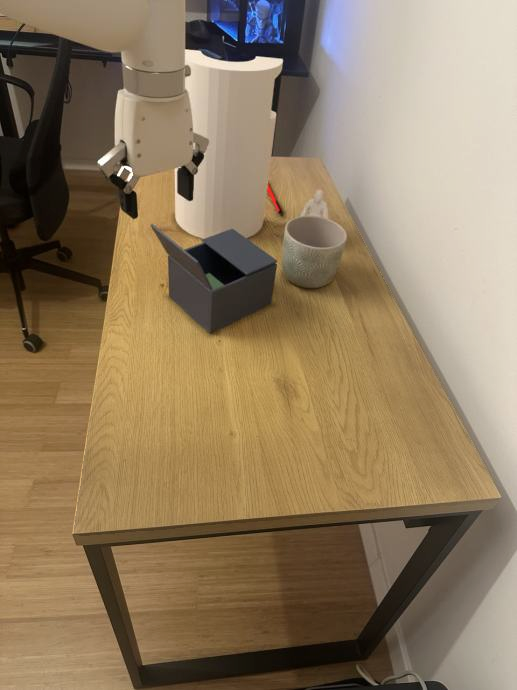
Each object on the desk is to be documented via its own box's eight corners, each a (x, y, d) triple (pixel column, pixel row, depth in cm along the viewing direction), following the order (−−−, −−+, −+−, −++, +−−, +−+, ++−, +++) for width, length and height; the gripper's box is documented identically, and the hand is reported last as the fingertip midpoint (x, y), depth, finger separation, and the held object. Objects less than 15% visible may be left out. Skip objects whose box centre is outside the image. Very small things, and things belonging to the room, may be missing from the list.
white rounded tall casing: (175, 212, 119) (262, 218, 122) (172, 238, 111) (266, 243, 113) (173, 47, 95) (282, 57, 97) (169, 64, 87) (288, 75, 89)
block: (203, 317, 92) (204, 295, 89) (187, 302, 95) (187, 281, 91) (224, 307, 95) (226, 286, 92) (208, 293, 98) (209, 272, 94)
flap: (212, 288, 83) (211, 290, 83) (168, 251, 89) (166, 253, 89) (198, 261, 77) (196, 262, 77) (151, 223, 83) (150, 225, 83)
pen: (279, 216, 123) (280, 212, 122) (262, 180, 136) (262, 176, 136) (283, 216, 123) (283, 212, 123) (265, 180, 136) (265, 176, 136)
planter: (343, 293, 103) (355, 248, 95) (284, 295, 100) (293, 249, 93) (326, 258, 112) (337, 215, 104) (272, 259, 109) (279, 214, 102)
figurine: (326, 237, 118) (337, 190, 110) (323, 255, 112) (334, 207, 104) (295, 231, 119) (303, 184, 110) (290, 249, 113) (299, 200, 105)
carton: (210, 334, 90) (212, 289, 83) (168, 296, 96) (167, 251, 89) (271, 304, 98) (277, 260, 91) (229, 271, 104) (232, 228, 97)
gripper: (191, 63, 68) (190, 181, 80) (74, 79, 59) (91, 210, 71) (227, 80, 65) (220, 201, 77) (108, 99, 55) (120, 234, 67)
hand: (158, 205), depth 74 cm, fingers open, 9 cm apart
